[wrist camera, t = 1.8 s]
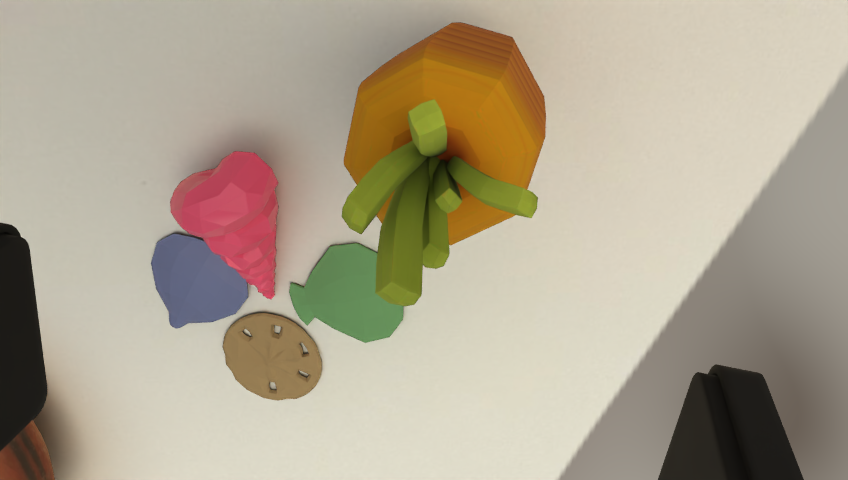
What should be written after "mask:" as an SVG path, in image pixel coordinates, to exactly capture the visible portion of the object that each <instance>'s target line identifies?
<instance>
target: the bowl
mask: <svg viewBox="0 0 848 480" xmlns="http://www.w3.org/2000/svg"><path fill="white" fill-rule="evenodd" d="M0 480H55V478H54V474H53V469H52V464H51V460H50V456H49V452H48V449H47V447H46V444H45V442H44V440H43V438H42V435H41V434H40V432H39V430H38V428H37V427H36V425H35V423H34V421H33V420H32V421H31V422H30V423H29V424H28V425H27V426H26V427H25V428H24V429H23V430H22V431H21V432H20V433H19V434H18V435H17V436H16V437H15V438H14V439H13V440H12V441H11V442H10V443H8V444H7V445H6V446H5V447H4V448H3V449H2V450H1V451H0Z"/></svg>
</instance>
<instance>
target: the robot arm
mask: <svg viewBox="0 0 848 480" xmlns="http://www.w3.org/2000/svg"><path fill="white" fill-rule="evenodd" d="M46 397H47V383H46V375H45V367H44V359H43V351H42V343H41V335H40V327H39V319H38V311H37V304H36V296H35V288H34V280H33V272H32V264H31V256H30V249H29V245H28V243H27V241H26V240H25V239H24V238H22V237H21V236H20V233H19V232H18V230H17V229H16V228H15V227H14V226H12V225H9V224H4V223H0V451H1V450H2V449H3V448H4V447H5V446H6V445H7V444H8V443H10V442H11V441H12V440H13V439H14V438H15V437H16V436H17V435H18V434H19V433H20V432H21V431H22V430H23V429H24V428H25V427H26V426H27V425H28V424H29V423H30V422H31V421H32V420H33V419H34V418H35V417H36V416H37V415H38V414H39V412H40V411H41V409H42V408H43V406H44V403H45V401H46ZM658 480H804V479H803V477H802V474H801V472H800V469H799V466H798V464H797V461H796V459H795V456H794V453H793V451H792V448H791V446H790V443H789V440H788V438H787V435H786V433H785V430H784V427H783V425H782V422H781V420H780V417H779V415H778V412H777V410H776V407H775V404H774V402H773V399H772V396H771V394H770V391H769V389H768V386H767V383H766V381H765V379H764V377H763V375H762V374H760V373H757V372H752V371H747V370H741V369H736V368H731V367H726V366H721V365H714V366H713V367H712V368H711V369H710V371H709V373H708V374H704V373H699V372H697V373H696V374H695V375H694V376H693V378H692V381H691V383H690V387H689V389H688V392H687V395H686V398H685V401H684V404H683V407H682V410H681V413H680V416H679V419H678V422H677V425H676V428H675V431H674V434H673V437H672V440H671V443H670V445H669V448H668V451H667V455H666V457H665V460H664V463H663V466H662V469H661V473H660V475H659V478H658Z"/></svg>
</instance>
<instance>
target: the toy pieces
mask: <svg viewBox="0 0 848 480" xmlns="http://www.w3.org/2000/svg"><path fill="white" fill-rule="evenodd" d="M277 184H278V182H277V180H276V177H275V175H274V173H273V171H272V169H271V168H270V167H269V166H268V165H267V164H266V163H265V162H264V161H263V160H262V159H261V158H260V157H258V156H257V155H256V154H255V153H250V152H239V151H235V152H233V153H231V154H230V155H228V156H227V157H225V158H224V159H222V161H221V162H220V164H219V165H218V167H217V168H215V169H211V170H206V171H202V172H198V173H194V174H192V175H190V176H189V177H187V178H186V179H184V180H183V181H181V182H180V184H179V185H178V186H177V188H176V189H175V191H174V193H173V196H172V198H171V201H170V207H171V213H172V215H173V217H174V218H175V220H176V221H177V222H178V224H179V225H180V226H181V227H182V228H183V229H184V230H185V231H187V232H188V233H190V234H192V235H195V236H198V237H202V238H203V239H204V241H205V242H204V241H202V240H199V239H197V238H193V237H189V236H184V235H179V234H172V235H170V236H168V237H166V238H164V239H162V240H160V241H159V242H157V245H156V248H155V251H154V255H153V258H152V262H151V265H152V270H153V275H154V280H155V285H156V289H157V291H158V293H159V295H160V296H161V298H162V300H163V302H164V304H165V306H166V307H167V309H168V311H169V322H170V325H171V326H172V327H174V328H180V327H182V326H184V325H186V324H187V323H202V322H214V321H216V320H219V319H222V318H225V317H227V316H230V315H233V314H236V312H237V311H238V310H239V308H240V307H241V306H242V304H243V303H244V302H245V300H246V299H247V298H248V290H247V283H249V284H250V285H255V286H256V287H257V288H258V292H260V293H262V294H263V296H265V297H266V298H267V299H268V298H269V299H272V298H273V297H274V295H275V294H274V292H275V291H274V288H273V287H274V285H275V282H274V278H275V273H274V270H275V267H276V263H275V261H274V259H275V256H276V251H277V250H276V247H275V239H276V226H277V225H276V224H275V223H276V218H277V212H278V207H279V206H278V202H277V198H276V195H275V191H274V189H275V187H276V186H277ZM376 261H377V253H376V252H374V251H372V250H370V249H368V248H367V247H365V246H363V245H361V244H359V243H352V244H344V245H335V246H330V247H329V249H328V250H327V251H326V253H325V254H324V256H323V257H322V258H321V260H320V261H319V262H318V264H317V265H316V267H315V268H314V269H313V271H312V272H311V274H310V276H309V279H308V281H307V283H306V285H305V287H303V286H300V285H297V284H295V283H291V285H290V291H289V293H290V296H291V300H292V303H293V306H294V308H295V310H296V312H297V314H298V316H299V318H300V319H301V320H302V321H303V322H304V323H305V324H306V325H307V326H308V324H309V323H310V322H311V321H312V320H313V318H314V317H316V318H317V319H319V320H321V321H322V322H324V323H325V324H327V325H329V326H330V327H332V328H334V329H336V330H338V331H340V332H342V333H345V334H347V335H349V336H351V337H353V338H356V339H358V340H360V341H362V342H365V343H366V342H370V341H375V340H379V339H383V338H387V337H390V336H391V334H392V333H393V332H394V330H395V329H396V328H397V326H398V325H399V324H400V322H401V321H402V320H403V306H400V305H395V304H390V303H388V302H387V301H385V300H384V299H382V298H381V297H380V296H378V295H377V294H376V293H375V288H376ZM275 325H277V326H280V327H281V331H280V334H277V333H275V332H274V326H275ZM244 329H247V330H248V331H249V332H250V334H251V335H252V337H249V336H246V335H245V334H244V333H243V332H242V331H243V330H244ZM301 342H302V343H303V344H304V345H305V347H306V348H307V350H308V352H309V353H308V354H304V355H303V349H302V347H301V345H300V343H301ZM223 350H224V353H225V357H226V365H227V366H228V367H229V368H230V370H231V371H232V373H233V375H234V377H235V379H236V380H237V381H238V382H239V383H240V384H241V385H242V386H243V387H245V388H246V389H247V390H249V391H251V392H253V393H255V394H257V395H259V396H261V397H263V398H267V399H272V400H283V399H297V398H299V397H302V396H304V395H306V394H307V393H309V392H310V391H311V390H312V389H313V388H314V387H315V386H316V384H317V382H318V380H319V378H320V375H321V370H322V364H321V358H320V355H319V352H318V349H317V346H316V344H315V343H314V341H313V340H312V339H311V338H310V337H309V336H308V334H307V333H306V332H305V331H304V330H303V329H302V328H301V327H300V326H298V325H297V324H296V323H294V322H292V321H290V320H288V319H286V318H284V317H281V316H277V315H272V314H268V313H258V314H252V315H249V316H246V317H242V318H240V319H239V320H238V321H236V322H235V323H234V324H232V325H231V327H230V328H229V330H228V331H227V333H226V334H225V337H224V342H223ZM299 370H300V371H302V372H305V373H307V374H309V376H308V377H307V378H306V377H304V376H302V375H301V374H299V373H298V372H299ZM270 382H275V385H276V388H277V390H270V387H269V383H270Z"/></svg>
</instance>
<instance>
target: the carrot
mask: <svg viewBox="0 0 848 480" xmlns="http://www.w3.org/2000/svg"><path fill="white" fill-rule="evenodd" d="M545 123H546V113H545V101H544V95H543V94H542V92H541V90H540V88H539V86H538V84H537V82H536V81H535V79H534V77H533V75H532V73H531V71H530V69H529V67H528V66H527V64H526V62H525V60H524V58H523V56H522V54H521V52H520V51H519V49H518V47H517V45H516V43H515V41H514V39H513V38H512V37H510V36H507V35H503V34H500V33H496V32H493V31H489V30H486V29H482V28H479V27H475V26H472V25H468V24H465V23H451V24H449V25H447V26H446V27H444V28H442V29H441V30H439V31H437V32H436V33H434V34H432V35H430V36H429V37H427V38H425V39H424V40H422V41H420V42H419V43H417V44H415V45H413V46H412V47H410V48H408V49H407V50H405V51H403V52H402V53H400V54H398V55H397V56H395V57H394V58H392V59H391V60H390V61H388V62H387V63H385V64H384V65H382V66H381V67H380V68H378V69H377V70H376V71H375V72H374V73H372V74H371V75H370V76H369V77H368V78H366V79H365V80H364V81H363V82H362V83H361V84H360V86H359V88H358V93H357V98H356V103H355V108H354V112H353V117H352V122H351V127H350V132H349V136H348V141H347V146H346V151H345V156H344V165H345V167H346V169H347V170H348V172H349V173H350V175H351V176H352V178H353V179H354V181H355V183H356V184H357V186H356V187H355V188H354V190H353V191H352V192H351V194H350V195H349V196H348V198H347V200H346V202H345V204H344V206H343V209H342V218H343V219H344V220H345V222H346V223H347V225H348V226H349V228H350V229H352V230H354V231H356V232H357V233H359V234H362V233H363V232H364V230H365V229H366V228H367V226H368V225H369V224H370V223H371V221H372V220H373V219H374V217H375V216H376V215H377V217H378V218H379V220H380V221H381V223H382V226H381V231H380V238H379V246H378V253H377V261H376V288H375V293H376V294H377V295H378V296H380V297H381V298H382V299H384V300H385V301H387V302H388V303H390V304H395V305H400V306H408V305H414V304H415V303H416V301H417V300H418V299H419V298H420V296H421V294H422V269H423V265H424V266H425V267H427V268H435V269H437V268H439V267H442V266H444V264H445V262H446V260H447V258H448V256H449V245H453V244H455V243H457V242H459V241H461V240H463V239H465V238H468V237H470V236H472V235H474V234H476V233H478V232H481V231H483V230H485V229H487V228H489V227H491V226H493V225H496V224H498V223H500V222H502V221H504V220H506V219H509V218H511V217H513V216H515V215H519V216H524V217H529V218H532V216H533V214H534V213H535V211H536V209H537V200H538V197H537V196H536V195H535V194H534V193H533V192H531V191H529V190H527V189H528V186H529V183H530V180H531V177H532V174H533V171H534V168H535V165H536V162H537V160H538V157H539V154H540V151H541V148H542V145H543V142H544V139H545Z"/></svg>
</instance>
